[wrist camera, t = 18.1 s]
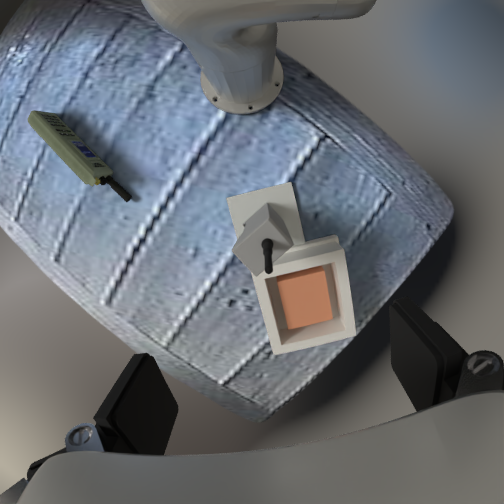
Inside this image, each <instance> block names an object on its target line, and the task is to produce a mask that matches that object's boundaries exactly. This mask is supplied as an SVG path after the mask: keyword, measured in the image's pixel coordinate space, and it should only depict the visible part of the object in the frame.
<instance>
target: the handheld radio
mask: <svg viewBox="0 0 504 504" xmlns="http://www.w3.org/2000/svg"><path fill="white" fill-rule="evenodd" d="M28 122H29V124H30V125H31V127H32V128H33V129H34V130H35V131H36V132H37V133H38V135H39V136H40V137H42V138H43V139H44V140H45V142H46V143H47V144H48V145H49V146H50V147H51V148H52V149H53V150H54V151H55V152H56V154H57V155H58V156H59V157H60V158H61V159H62V160H63V161H64V162H65V163H66V164H67V165H68V166H69V167H70V168H71V170H72V171H73V172H74V173H75V174H76V175H77V176H78V177H79V178H80V179H81V180H82V181H83V182H84V183H85V184H89V185H91V186H92V187H93V186H94V184H96V185H98V184H99V183H100V184H101V185H105V184H106V183H107V184H109V185H110V186H111V188H112V189H113V190H114V191H115V192H117V193H118V194H119V195H120V196H121V197H122V198H123V199H124V200H125V201H126V202H128V201H129V200H130V199H131V197H132V196H131V195H130V194H129V193H128V192H127V191H126V190H125V189H124V188H123V187H122V186H120V185H119V184H118V183H117V182H116V181H115V180H113V178H112V177H111V176H112V174H113V171H112V170H111V169H110V168H109V167H108V166H107V165H106V164H105V163H104V162H103V161H102V160H101V159H100V158H99V157H98V156H97V155H96V154H95V153H94V152H93V151H92V150H91V149H90V148H89V147H88V146H87V145H86V144H85V143H84V142H83V141H82V140H81V139H80V138H79V137H78V136H77V135H76V134H75V133H74V132H73V131H72V130H71V129H70V128H69V127H68V126H67V125H66V124H65V123H64V122H63V121H62V120H61V119H60V118H59V117H58V116H57V115H56V114H55V113H48V112H41V111H31V113H30V115H29V117H28Z"/></svg>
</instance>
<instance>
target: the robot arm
mask: <svg viewBox="0 0 504 504" xmlns="http://www.w3.org/2000/svg"><path fill="white" fill-rule="evenodd" d="M141 1H142V3H143V5H144V7H145V8H146V10H147V11H148V12H149V14H150V15H151V16H152V18H153V19H154V20H155V21H156V22H157V23H158V24H159V25H160V26H161V27H163V28H164V29H165V30H167V31H168V32H169V33H171V34H172V35H174V36H175V37H177V38H179V39H180V40H182V41H183V42H184V43H185V45H186V46H187V47H188V49H189V50H190V52H191V53H192V55H193V57H194V58H195V60H196V62H197V63H198V65H199V67H200V68H201V70H202V71H201V79H200V80H201V87H202V90H203V92H204V94H205V96H206V97H207V99H208V100H209V101H210V102H211V103H212V104H213V105H214V106H215V107H217V108H218V109H220V110H222V111H225V112H228V113H231V114H238V115H240V114H250V113H255V112H257V111H260V110H262V109H264V108H266V107H267V106H269V105H270V104H271V103H272V102H273V101H274V100H275V99H276V97H277V96H278V95H279V93H280V90H281V88H282V85H283V78H284V76H283V69H282V66H281V63H280V61H279V60H278V58H277V57H276V55H275V54H276V44H277V32H278V29H277V22H287V21H302V20H332V19H333V20H339V19H353V18H357V17H360V16H363V15H365V14H366V13H368V12H369V11H370V10H371V9H372V7H373V6H374V4H375V2H376V0H141ZM276 84H278V85H279V86H278V87H276V86H275V85H276ZM215 99H217V101H216V102H215V101H214V100H215ZM250 107H252V108H253V109H252V110H250V109H249V108H250ZM389 315H390V333H391V334H390V336H391V364H392V368H393V370H394V372H395V374H396V375H397V377H398V379H399V381H400V382H401V384H402V386H403V388H404V390H405V391H406V393H407V395H408V397H409V398H410V400H411V402H412V404H413V406H414V407H415V409H416V411H417V412H415V413H412V414H409V415H406V416H403V417H401V418H397V419H395V420H392V421H388V422H385V423H382V424H379V425H376V426H372V427H369V428H366V429H362V430H358V431H355V432H351V433H347V434H343V435H339V436H335V437H331V438H326V439H322V440H317V441H312V442H307V443H302V444H296V445H291V446H285V447H279V448H272V449H264V450H256V451H247V452H237V453H226V454H225V453H224V454H207V455H164V453H165V450H166V447H167V444H168V441H169V438H170V435H171V431H172V429H173V425H174V422H175V419H176V417H177V413H178V405H177V402H176V400H175V398H174V397H173V395H172V393H171V391H170V389H169V387H168V385H167V383H166V381H165V379H164V377H163V375H162V373H161V371H160V369H159V367H158V365H157V363H156V361H155V359H154V357H153V356H150V355H149V354H148V353H142V354H134V356H133V357H132V358H131V360H130V361H129V363H128V364H127V366H126V367H125V369H124V370H123V372H122V373H121V375H120V377H119V378H118V380H117V381H116V383H115V384H114V386H113V387H112V389H111V391H110V392H109V394H108V395H107V397H106V399H105V400H104V402H103V403H102V405H101V406H100V408H99V410H98V411H97V413H96V414H95V416H94V418H93V419H94V420H95V421H96V425H95V426H94V425H92V424H89V423H83V424H80V425H77V426H75V427H74V428H72V429H71V430H70V431H69V432H68V433H67V435H66V438H65V445H66V447H65V448H64V449H62V450H59V451H57V452H55V453H53V454H51V455H49V456H47V457H45V458H43V459H40V460H38V461H36V462H34V463H32V464H31V465H30V468H29V469H28V472H27V478H28V479H27V480H26V479H25V478H22V479H21V480H20V481H19V482H17V483H16V484H14V485H13V486H12V487H10V488H9V489H8V490H6V491H5V492H4V493H2V494H1V495H0V504H504V363H503V360H502V358H501V357H500V356H499V355H498V354H497V353H495V352H492V351H487V350H481V351H476V352H473V353H472V354H470V355H468V353H466V351H465V350H464V349H463V348H462V347H461V346H460V345H459V344H458V343H457V342H456V341H455V340H454V339H453V338H452V337H451V336H450V335H449V334H448V333H447V332H446V331H445V330H444V329H443V328H442V327H441V326H440V325H439V324H438V323H437V322H434V321H433V320H432V319H431V318H430V317H429V316H428V315H427V314H426V313H425V312H424V311H423V310H422V309H420V307H418V306H417V305H416V304H415V303H414V302H413V301H412V300H411V299H410V298H409V297H403V298H400V299H397V300H394V301H393V305H390V307H389Z"/></svg>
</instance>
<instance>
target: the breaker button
mask: <svg viewBox="0 0 504 504" xmlns="http://www.w3.org/2000/svg"><path fill="white" fill-rule="evenodd" d="M276 278H277V284H278V288H279V292H280V297H281V301H282V305H283V309H284V313H285V317H286V322H287V326H288V330H289V329H294V328H298V327H302V326H307V325H311V324H315V323H319V322H323V321H327V320H331V319H333V316H332V310H331V304H330V298H329V293H328V287H327V281H326V276H325V271H324V269H323V267H322V266H321V265H320V266H316V267H312V268H308V269H304V270H300V271H295V272H291V273H287V274H283V275H279V276H276Z"/></svg>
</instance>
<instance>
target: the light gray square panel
mask: <svg viewBox="0 0 504 504" xmlns="http://www.w3.org/2000/svg"><path fill="white" fill-rule="evenodd" d="M226 199H227V203H228V206H229V210H230V214H231V217H232V221H233V225H234V229H235V232H236V236H237V240H238V238H239V236H240V235H241V234H242V233H243V231H244V228H245V227H244V226H243V225H242V224H243V223H244V222H245V221H246V220H247V219H249V218H250V217H251V216H252V215H253V214H254V213H255V212H256V211H258V210H259V209H260V208H261V207H262V206H263V205H264V204H266V203H267V202H268V203H269V205H270V206H271V207H272V208H273V209H274V210H275V211H276V212H277V213H278V215H279V216H280V217H281V218H282V219H283V220H284V223H285V225H286V227H287V229H288V232H289V234H290V236H291V238H292V241H293V243H294V245H297V244H301V243H305V239H304V235H303V230H302V226H301V221H300V217H299V213H298V208H297V204H296V200H295V196H294V192H293V187H292V183H291V182H289V183H285V184H280V185H276V186H272V187H268V188H264V189H260V190H256V191H252V192H248V193H244V194H240V195H236V196H232V197H228V198H226Z"/></svg>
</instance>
